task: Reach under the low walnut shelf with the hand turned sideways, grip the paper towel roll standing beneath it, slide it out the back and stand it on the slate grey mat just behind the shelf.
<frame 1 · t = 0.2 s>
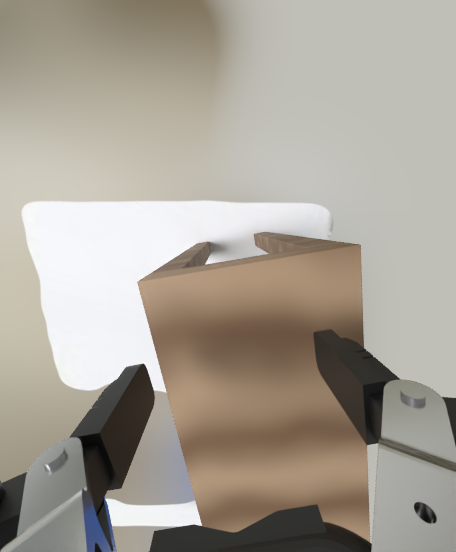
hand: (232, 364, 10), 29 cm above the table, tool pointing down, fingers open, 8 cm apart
walnut shelf: (241, 302, 41), on the table
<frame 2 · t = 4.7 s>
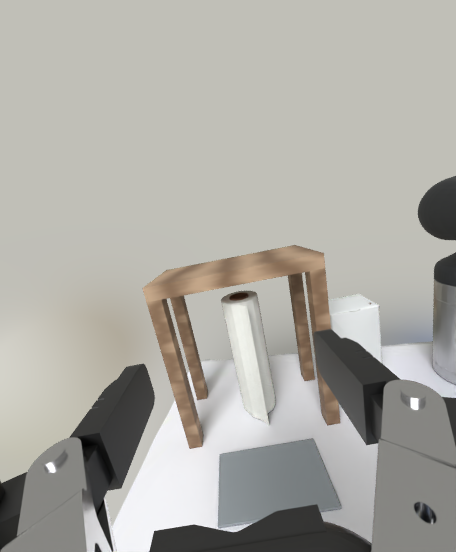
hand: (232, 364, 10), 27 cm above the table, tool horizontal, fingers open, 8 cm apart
paper towel roll: (258, 406, 40), on the table
walnut shelf: (258, 405, 40), on the table
slate mat: (272, 478, 29), on the table
skincare box: (352, 377, 43), on the table
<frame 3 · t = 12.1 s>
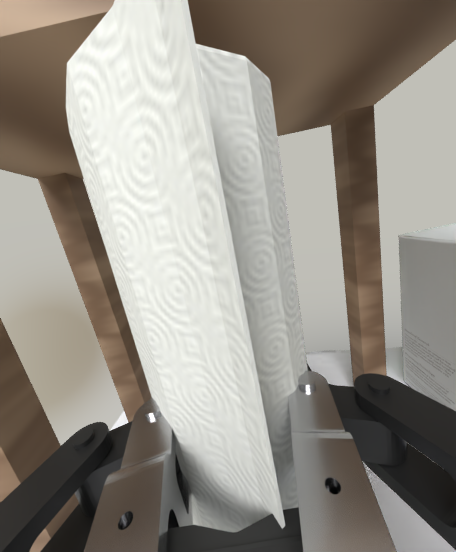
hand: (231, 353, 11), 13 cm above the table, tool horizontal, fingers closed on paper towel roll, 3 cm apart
walnut shelf: (271, 475, 17), on the table
when the fingers open (12 cm above the table, at t = 13.9 s): paper towel roll stays where it is, resting on slate mat.
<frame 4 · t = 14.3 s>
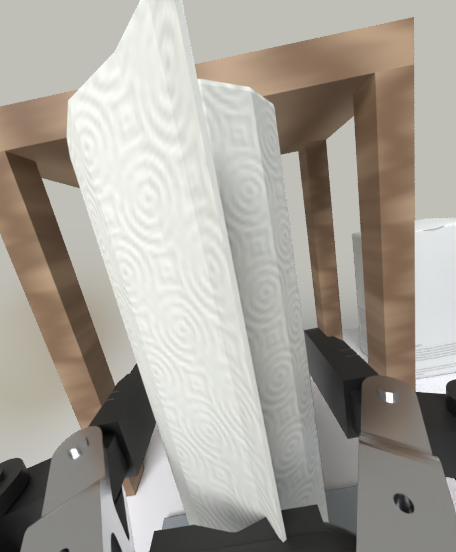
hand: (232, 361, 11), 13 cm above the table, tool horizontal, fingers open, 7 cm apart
walnut shelf: (251, 410, 23), on the table
skincare box: (410, 362, 25), on the table
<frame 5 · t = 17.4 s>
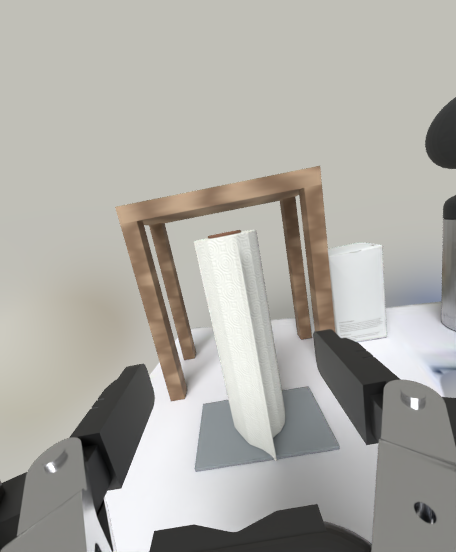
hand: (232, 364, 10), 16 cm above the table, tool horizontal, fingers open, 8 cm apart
paper towel roll: (258, 424, 25), resting on slate mat
walnut shelf: (249, 361, 37), on the table
slate mat: (260, 424, 25), on the table
skincare box: (353, 334, 39), on the table
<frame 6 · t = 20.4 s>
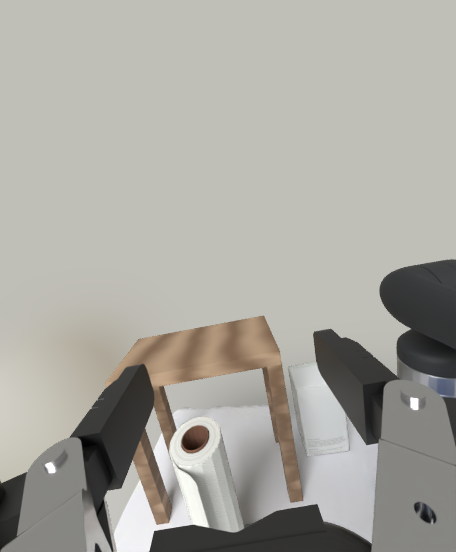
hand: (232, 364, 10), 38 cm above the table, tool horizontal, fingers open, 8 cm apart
walnut shelf: (228, 472, 41), on the table
skincare box: (322, 440, 44), on the table
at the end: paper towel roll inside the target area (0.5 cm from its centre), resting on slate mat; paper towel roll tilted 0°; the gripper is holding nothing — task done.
